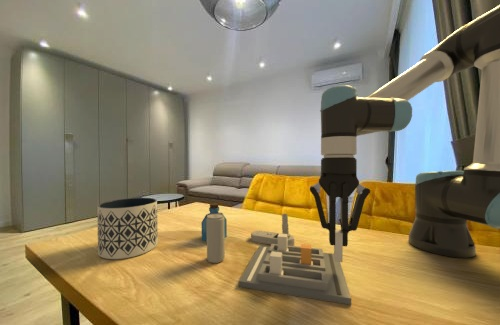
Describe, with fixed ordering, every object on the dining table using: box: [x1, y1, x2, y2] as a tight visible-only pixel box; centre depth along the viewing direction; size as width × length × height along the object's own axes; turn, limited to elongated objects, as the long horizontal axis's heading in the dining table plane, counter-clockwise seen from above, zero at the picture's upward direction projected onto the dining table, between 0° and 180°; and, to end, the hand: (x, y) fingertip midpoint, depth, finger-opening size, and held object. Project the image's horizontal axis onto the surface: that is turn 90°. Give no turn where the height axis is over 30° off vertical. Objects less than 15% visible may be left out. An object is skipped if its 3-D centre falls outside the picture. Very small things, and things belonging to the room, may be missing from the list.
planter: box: [96, 197, 159, 260], centre depth 65 cm, size 16×16×14 cm
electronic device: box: [250, 213, 295, 246], centre depth 69 cm, size 5×10×15 cm
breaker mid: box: [300, 243, 313, 265], centre depth 50 cm, size 3×2×5 cm
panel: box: [238, 244, 352, 306], centre depth 51 cm, size 22×19×3 cm
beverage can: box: [206, 213, 226, 264], centre depth 57 cm, size 5×5×12 cm
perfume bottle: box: [201, 202, 228, 243], centre depth 73 cm, size 6×6×12 cm
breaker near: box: [269, 251, 284, 275], centre depth 46 cm, size 3×2×5 cm
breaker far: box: [277, 232, 289, 251], centre depth 58 cm, size 3×2×5 cm
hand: (338, 259), depth 48 cm, fingers closed
